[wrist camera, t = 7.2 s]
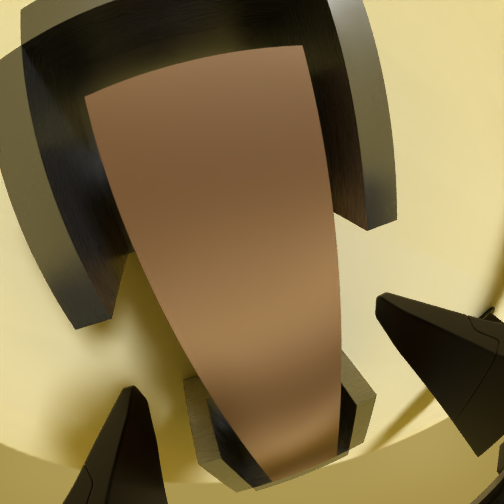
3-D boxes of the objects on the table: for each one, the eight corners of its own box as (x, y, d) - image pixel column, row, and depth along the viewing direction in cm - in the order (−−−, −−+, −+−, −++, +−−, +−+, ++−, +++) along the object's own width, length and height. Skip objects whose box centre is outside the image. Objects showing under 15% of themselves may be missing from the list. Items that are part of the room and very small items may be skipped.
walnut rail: (307, 403, 14) (336, 456, 11) (250, 425, 14) (272, 481, 10) (242, 81, 7) (302, 45, 4) (124, 114, 7) (84, 96, 3)
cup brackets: (328, 395, 18) (361, 447, 13) (222, 435, 16) (240, 495, 12) (271, 14, 8) (344, -45, 3) (57, 70, 6) (-16, 36, 2)
